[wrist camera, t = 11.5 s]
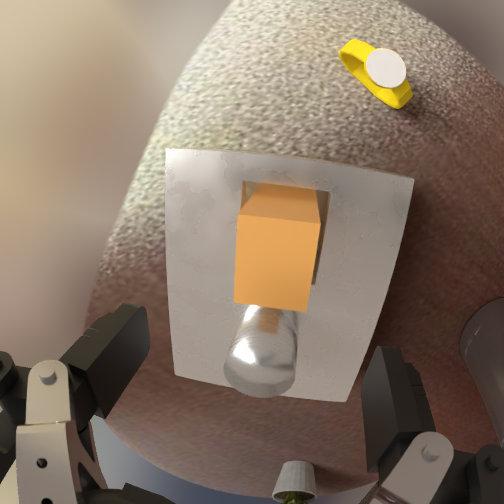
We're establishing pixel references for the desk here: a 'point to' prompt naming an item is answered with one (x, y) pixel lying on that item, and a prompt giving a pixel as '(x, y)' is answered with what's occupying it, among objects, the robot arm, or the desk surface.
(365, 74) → the watch
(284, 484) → the house plant
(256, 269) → the orange rectangular prism
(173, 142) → the desk surface
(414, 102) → the desk surface
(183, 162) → the two-tier square platform
